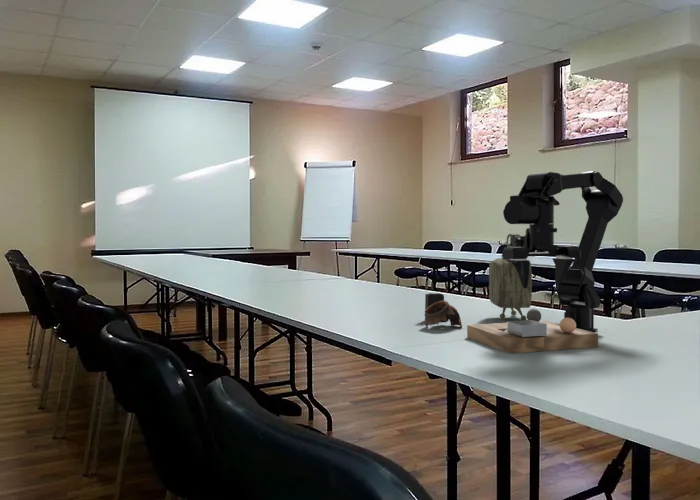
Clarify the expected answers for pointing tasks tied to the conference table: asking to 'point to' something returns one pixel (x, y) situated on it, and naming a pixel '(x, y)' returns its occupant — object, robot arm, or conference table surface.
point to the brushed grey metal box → (527, 328)
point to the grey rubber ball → (534, 315)
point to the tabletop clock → (508, 286)
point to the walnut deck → (531, 338)
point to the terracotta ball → (567, 325)
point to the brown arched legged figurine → (442, 314)
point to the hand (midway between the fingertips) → (541, 287)
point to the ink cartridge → (433, 300)
